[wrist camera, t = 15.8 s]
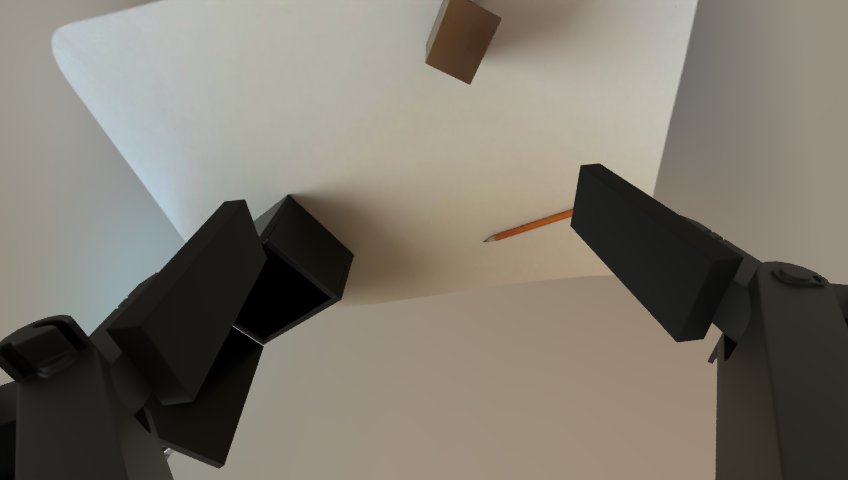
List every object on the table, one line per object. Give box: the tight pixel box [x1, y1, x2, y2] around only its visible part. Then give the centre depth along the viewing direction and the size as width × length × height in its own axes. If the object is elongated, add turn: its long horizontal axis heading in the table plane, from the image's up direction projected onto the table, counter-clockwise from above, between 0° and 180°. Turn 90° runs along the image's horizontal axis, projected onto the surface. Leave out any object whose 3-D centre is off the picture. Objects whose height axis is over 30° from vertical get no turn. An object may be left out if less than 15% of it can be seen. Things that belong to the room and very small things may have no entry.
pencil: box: [484, 209, 573, 242], centre depth 49 cm, size 1×19×1 cm, turn 113°
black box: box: [233, 194, 354, 345], centre depth 49 cm, size 16×13×9 cm
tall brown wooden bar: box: [425, 0, 501, 84], centre depth 31 cm, size 4×5×11 cm
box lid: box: [144, 326, 263, 468], centre depth 41 cm, size 17×13×7 cm
